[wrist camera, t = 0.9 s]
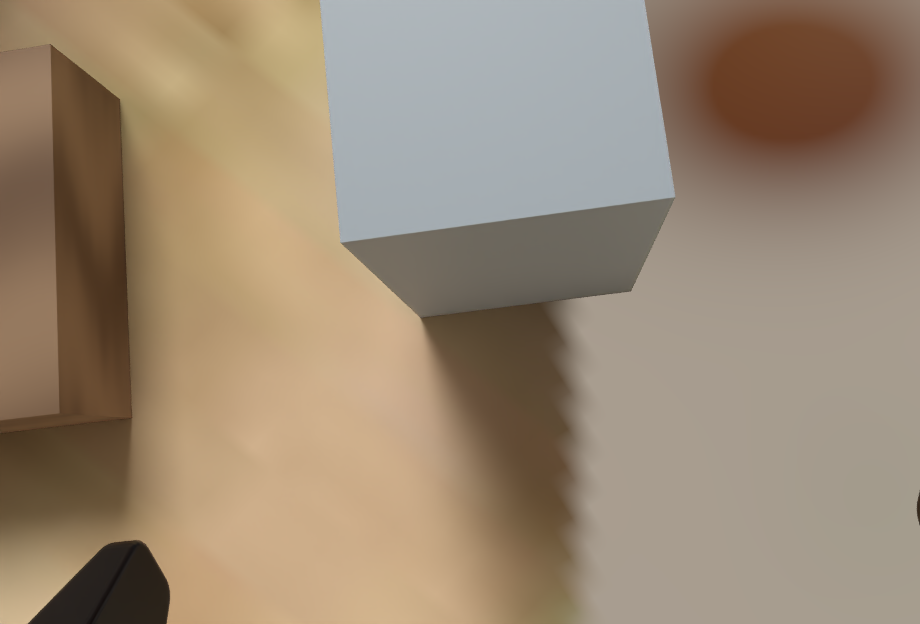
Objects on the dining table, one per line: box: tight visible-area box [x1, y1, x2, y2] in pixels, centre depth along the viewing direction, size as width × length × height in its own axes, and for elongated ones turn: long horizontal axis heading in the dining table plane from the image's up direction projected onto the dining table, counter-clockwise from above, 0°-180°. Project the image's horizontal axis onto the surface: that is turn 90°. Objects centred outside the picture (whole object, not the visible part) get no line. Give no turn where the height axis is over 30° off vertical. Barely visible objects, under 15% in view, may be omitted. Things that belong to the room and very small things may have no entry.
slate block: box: [320, 0, 675, 318], centre depth 20 cm, size 6×6×9 cm
